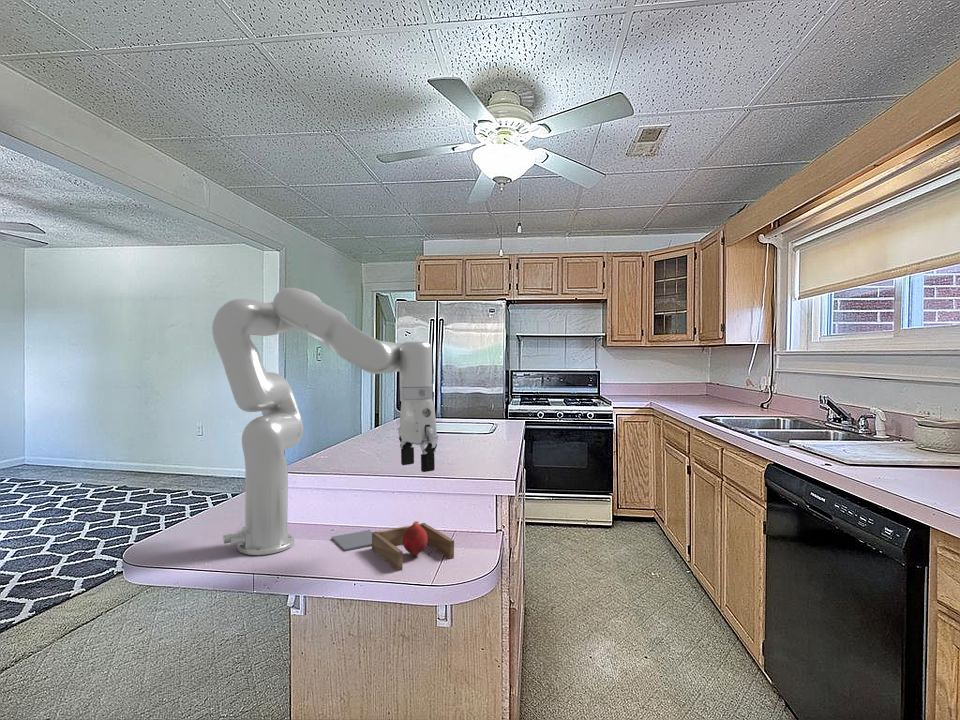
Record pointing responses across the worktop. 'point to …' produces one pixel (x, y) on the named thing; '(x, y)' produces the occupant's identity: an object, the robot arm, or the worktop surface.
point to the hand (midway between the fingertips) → (417, 467)
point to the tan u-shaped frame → (391, 538)
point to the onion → (415, 539)
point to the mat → (354, 540)
